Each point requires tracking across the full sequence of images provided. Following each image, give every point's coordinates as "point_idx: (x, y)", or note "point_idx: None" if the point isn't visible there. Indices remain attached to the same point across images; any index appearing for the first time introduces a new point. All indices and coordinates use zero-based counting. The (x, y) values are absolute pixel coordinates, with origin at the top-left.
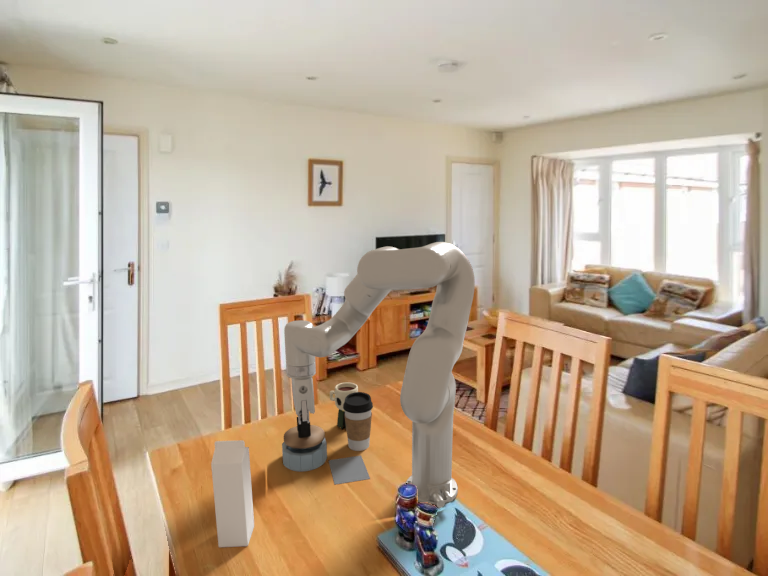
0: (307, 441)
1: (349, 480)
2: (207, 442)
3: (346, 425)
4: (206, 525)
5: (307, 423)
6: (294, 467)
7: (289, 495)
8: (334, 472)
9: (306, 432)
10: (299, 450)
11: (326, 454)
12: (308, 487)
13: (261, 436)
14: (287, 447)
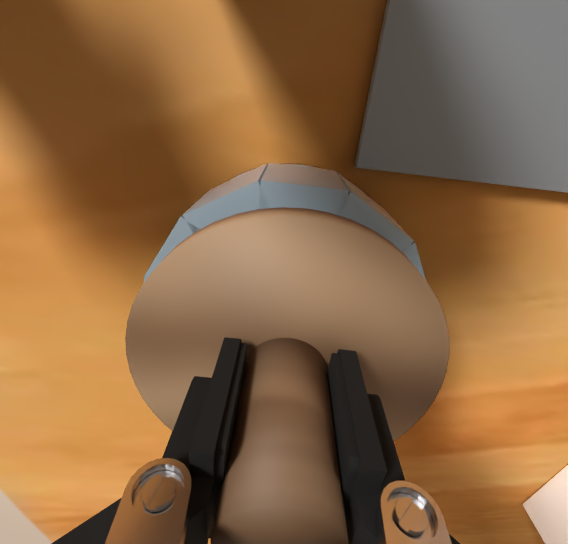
0: (403, 371)
1: None
2: (64, 513)
3: None
4: (479, 529)
5: (401, 497)
6: None
7: (498, 366)
8: (491, 166)
9: (379, 416)
10: None
11: (345, 180)
12: (497, 299)
13: (33, 391)
14: None
